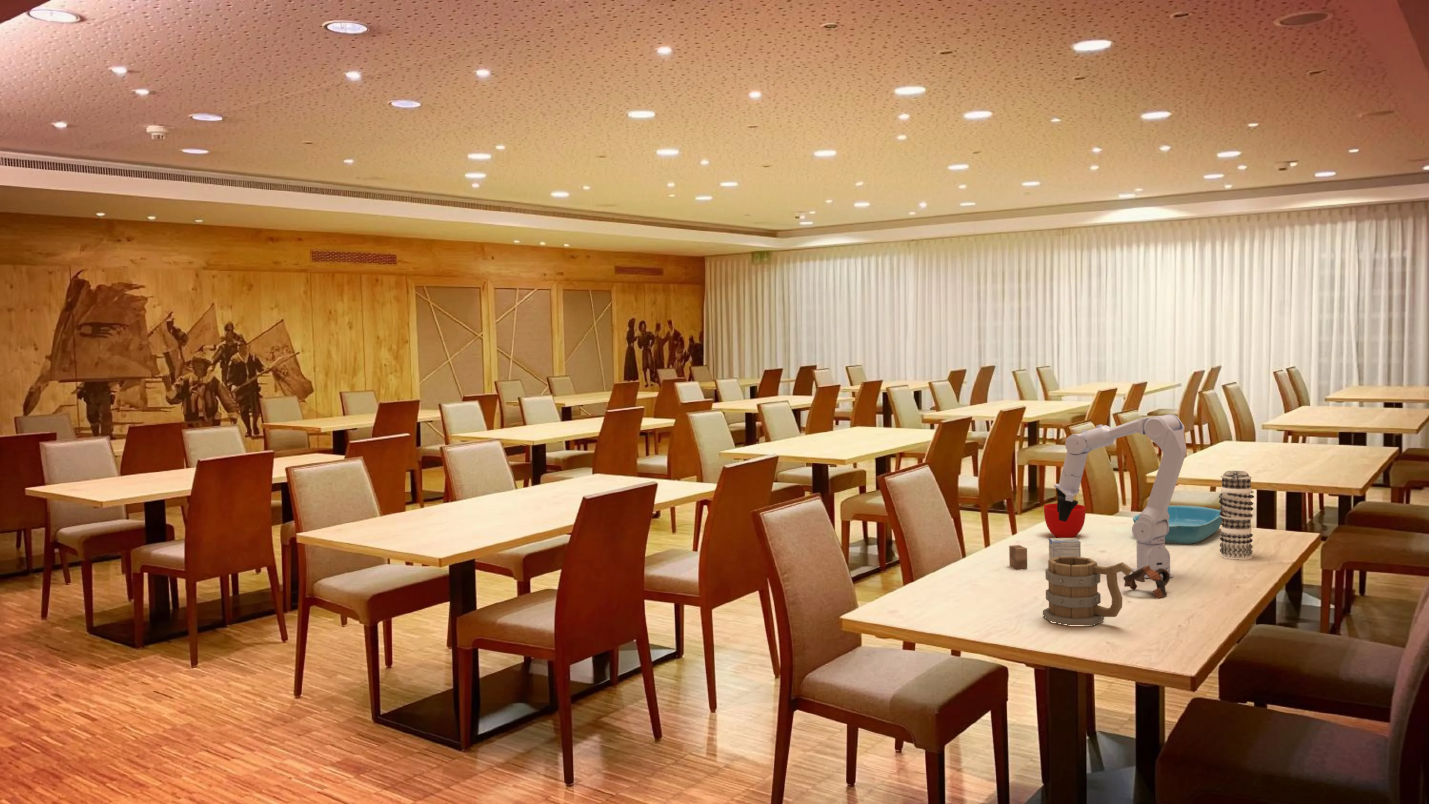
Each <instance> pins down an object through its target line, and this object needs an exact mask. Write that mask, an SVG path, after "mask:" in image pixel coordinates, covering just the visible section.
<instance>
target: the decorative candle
mask: <svg viewBox="0 0 1429 804" xmlns="http://www.w3.org/2000/svg"><path fill="white" fill-rule="evenodd" d="M1220 478H1221V486H1220V492H1221V493H1219V494H1218V498H1219V501H1218V503H1219V504H1220V506H1219V509H1218V510H1221V511H1220V513H1219V514H1220V517H1222V523H1221V525H1220V532H1219V535H1220V536H1221V537H1219V540H1220V541H1221V542H1220V543H1219V548H1220V549H1219V552H1220V554H1219V556H1220V557H1221V558H1223V557H1224V558H1223V559H1226V558H1229V559H1228V560H1233V559H1239V560H1238V561H1244V560H1245V561H1247V560H1252V558H1253V553H1254V551H1253V550H1252V549H1253V548H1254V545H1252V542H1253V541H1254V539H1252V537H1253V535H1254V534H1253V533H1252V526H1251V525H1252V523H1251V521H1252V519H1253V517H1254V515H1253V514H1252V513H1251V512H1252V511H1253V510H1254V507H1252V506H1253V505H1254V501H1253V502H1252V501H1251V499H1253V498H1255V496H1254V495H1253V493H1254V491H1253V490H1252V484H1251V483H1252V481H1251V479H1252V478H1253V477H1252V476H1250V474H1249V473H1248V472H1247V471H1243V470H1227V471H1225V472H1224V473H1223V475H1221V476H1220Z"/></svg>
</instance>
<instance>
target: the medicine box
mask: <svg viewBox="0 0 1429 804" xmlns="http://www.w3.org/2000/svg"><path fill="white" fill-rule="evenodd" d="M1081 543H1082V541H1080V540H1079V539H1078V538H1077V537H1075V538H1056V537H1053V538H1048V560H1049V559H1052V558H1055V557H1062V556H1073V557H1075V556H1077V557H1081V556H1082V555H1081V553H1082V552H1081V551H1082V550H1081Z"/></svg>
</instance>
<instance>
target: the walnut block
mask: <svg viewBox="0 0 1429 804" xmlns="http://www.w3.org/2000/svg"><path fill="white" fill-rule="evenodd" d="M1008 548H1009V549H1008V550H1009V552H1008V553H1009V567H1010V566H1011V567H1010V568H1012V567H1013V568H1012V569H1015V570H1017V571H1021V570H1020V569H1023V570H1028V548H1027V547H1025V546H1022V545H1020V544H1017V545H1016V544H1014V545H1008Z"/></svg>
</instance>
